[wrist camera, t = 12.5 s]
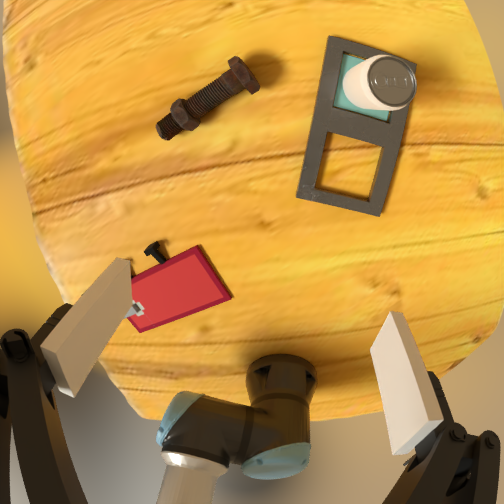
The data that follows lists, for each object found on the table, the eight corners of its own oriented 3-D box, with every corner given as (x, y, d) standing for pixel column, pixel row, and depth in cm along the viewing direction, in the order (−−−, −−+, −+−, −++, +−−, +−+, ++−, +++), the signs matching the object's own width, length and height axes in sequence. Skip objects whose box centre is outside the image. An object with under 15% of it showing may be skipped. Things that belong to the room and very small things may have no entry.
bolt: (168, 126, 43) (250, 69, 37) (178, 151, 42) (265, 93, 37) (144, 114, 37) (232, 49, 32) (152, 140, 37) (248, 73, 31)
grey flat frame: (377, 214, 44) (379, 216, 43) (295, 195, 44) (295, 197, 43) (413, 65, 32) (416, 64, 31) (327, 37, 33) (328, 35, 32)
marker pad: (386, 121, 37) (386, 121, 37) (333, 106, 37) (333, 105, 37) (396, 71, 33) (396, 71, 33) (343, 54, 34) (343, 53, 33)
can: (339, 65, 34) (359, 50, 24) (383, 66, 33) (416, 54, 23) (344, 109, 37) (366, 110, 27) (387, 109, 36) (422, 112, 26)
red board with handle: (78, 285, 57) (119, 336, 63) (71, 293, 54) (115, 345, 60) (186, 224, 48) (232, 294, 54) (181, 231, 46) (230, 304, 52)
